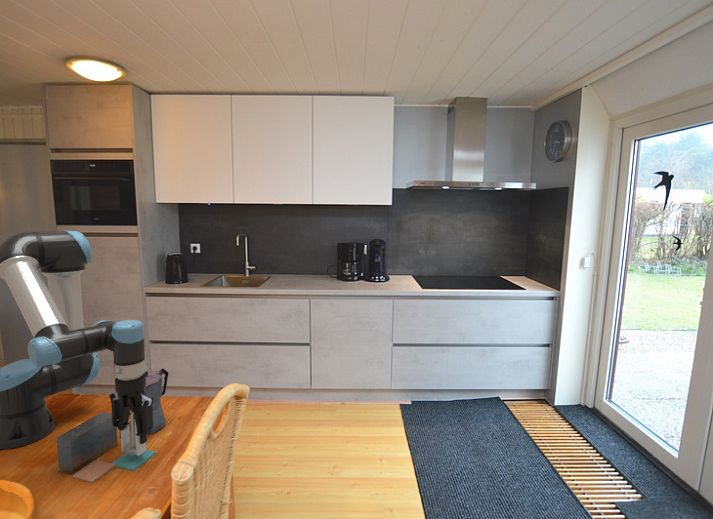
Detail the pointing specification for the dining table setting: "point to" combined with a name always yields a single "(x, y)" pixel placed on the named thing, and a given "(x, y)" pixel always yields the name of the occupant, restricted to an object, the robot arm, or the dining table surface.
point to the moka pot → (156, 397)
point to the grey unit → (86, 443)
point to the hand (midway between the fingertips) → (133, 450)
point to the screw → (131, 437)
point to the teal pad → (133, 460)
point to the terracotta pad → (93, 471)
